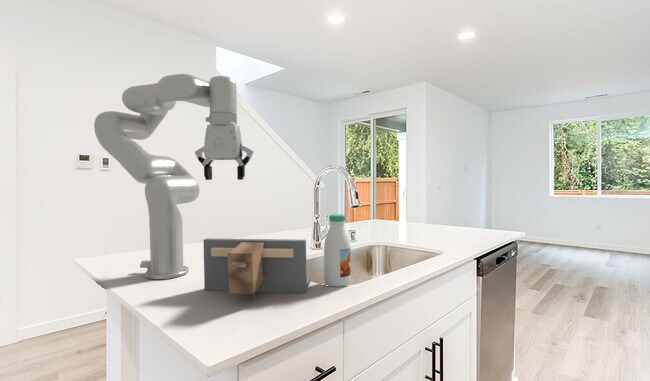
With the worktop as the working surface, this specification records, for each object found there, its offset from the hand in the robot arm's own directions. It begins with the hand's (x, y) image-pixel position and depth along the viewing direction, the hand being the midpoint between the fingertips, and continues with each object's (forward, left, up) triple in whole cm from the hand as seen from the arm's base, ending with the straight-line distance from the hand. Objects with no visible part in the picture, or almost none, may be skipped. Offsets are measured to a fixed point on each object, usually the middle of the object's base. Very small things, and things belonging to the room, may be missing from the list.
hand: (224, 179), depth 99 cm
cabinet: (+11, -14, -27) cm, 32 cm away
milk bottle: (+33, +1, -31) cm, 45 cm away
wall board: (+11, -4, -30) cm, 32 cm away
